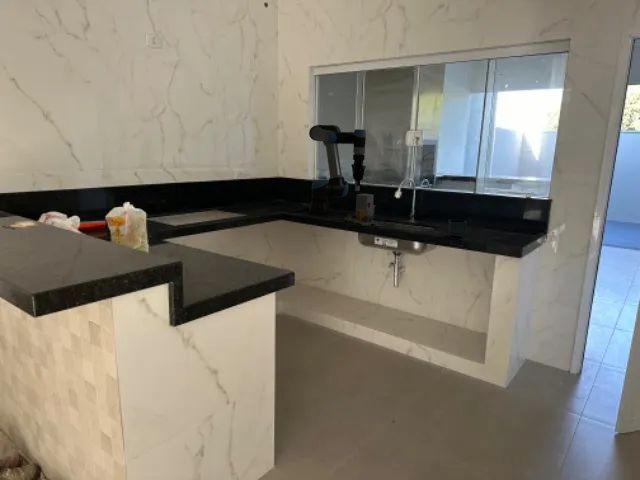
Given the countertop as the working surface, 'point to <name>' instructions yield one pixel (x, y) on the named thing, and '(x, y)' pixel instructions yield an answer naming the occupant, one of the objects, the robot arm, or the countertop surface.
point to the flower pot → (457, 227)
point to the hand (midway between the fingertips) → (357, 190)
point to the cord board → (365, 221)
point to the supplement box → (365, 203)
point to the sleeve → (361, 214)
